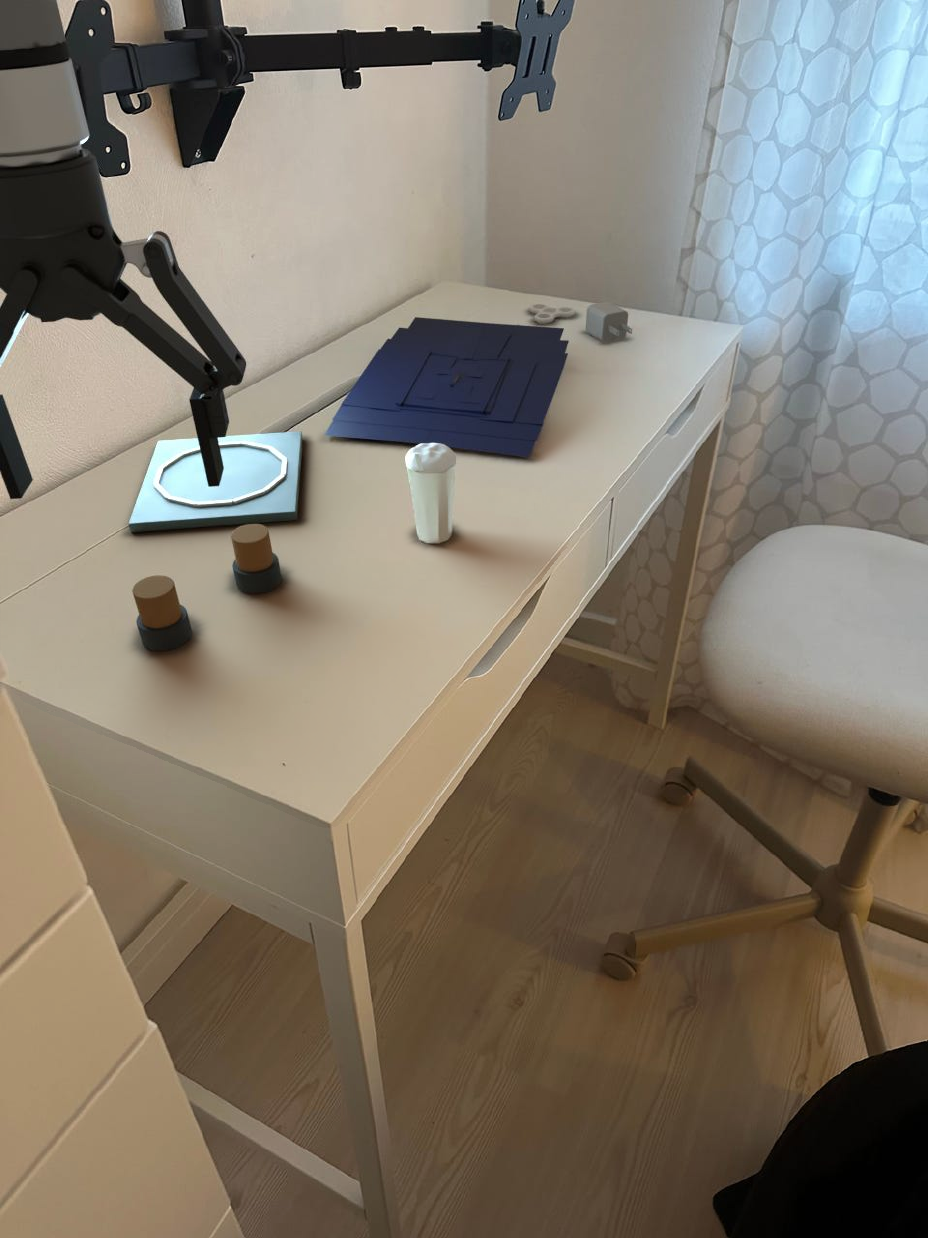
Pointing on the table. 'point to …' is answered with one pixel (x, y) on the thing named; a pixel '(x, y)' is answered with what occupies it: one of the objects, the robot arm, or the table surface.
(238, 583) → the stamp
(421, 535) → the milkshake
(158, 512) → the slate board
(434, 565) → the table surface
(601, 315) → the usb wall charger
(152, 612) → the stamp
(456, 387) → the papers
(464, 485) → the table surface
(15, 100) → the robot arm
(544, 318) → the fidget spinner
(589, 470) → the table surface
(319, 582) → the table surface
